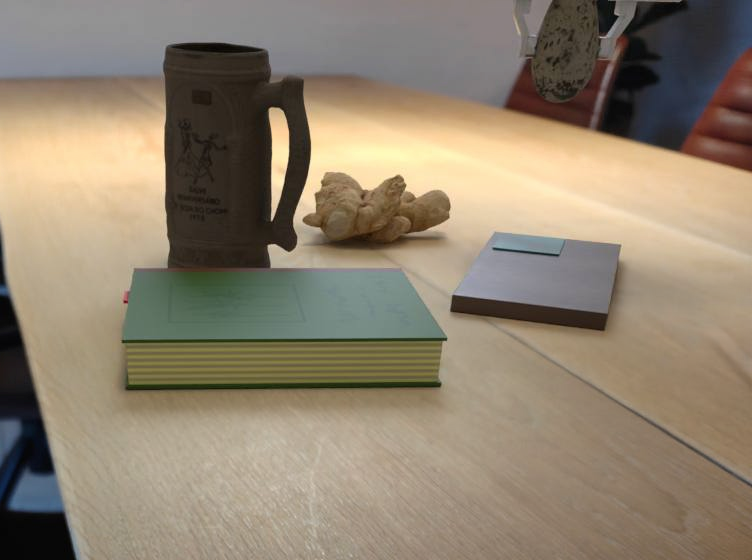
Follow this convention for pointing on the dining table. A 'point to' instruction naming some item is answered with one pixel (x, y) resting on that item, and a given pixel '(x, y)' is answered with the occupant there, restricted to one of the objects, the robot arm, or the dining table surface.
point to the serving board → (541, 280)
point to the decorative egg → (566, 49)
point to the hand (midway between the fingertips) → (563, 58)
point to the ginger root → (374, 209)
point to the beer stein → (228, 156)
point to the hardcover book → (278, 329)
